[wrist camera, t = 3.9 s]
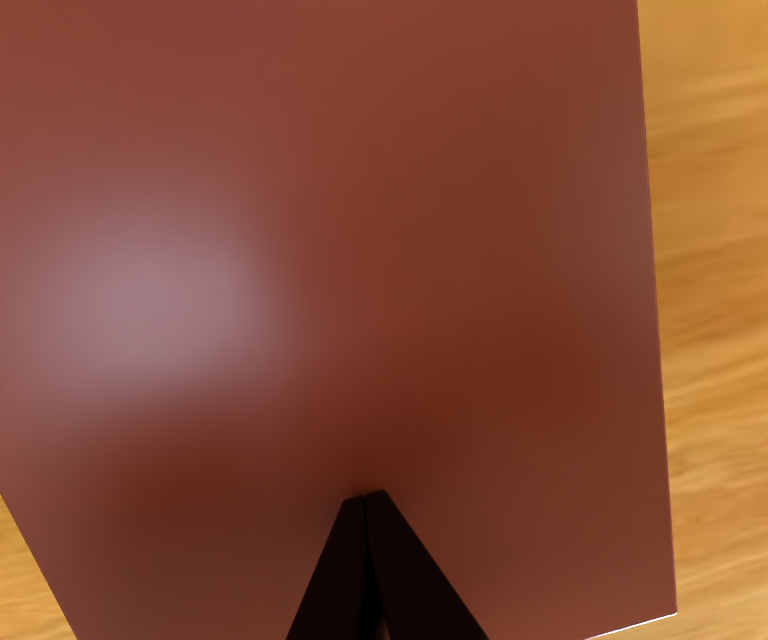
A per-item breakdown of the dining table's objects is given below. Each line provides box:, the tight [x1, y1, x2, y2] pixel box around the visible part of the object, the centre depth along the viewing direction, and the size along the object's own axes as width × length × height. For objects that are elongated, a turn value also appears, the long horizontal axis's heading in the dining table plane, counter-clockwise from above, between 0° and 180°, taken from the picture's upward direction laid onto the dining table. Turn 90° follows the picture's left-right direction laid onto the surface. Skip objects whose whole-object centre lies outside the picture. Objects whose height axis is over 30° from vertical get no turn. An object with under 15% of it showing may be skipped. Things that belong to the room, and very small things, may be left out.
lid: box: [0, 0, 678, 640], centre depth 8 cm, size 16×13×1 cm
